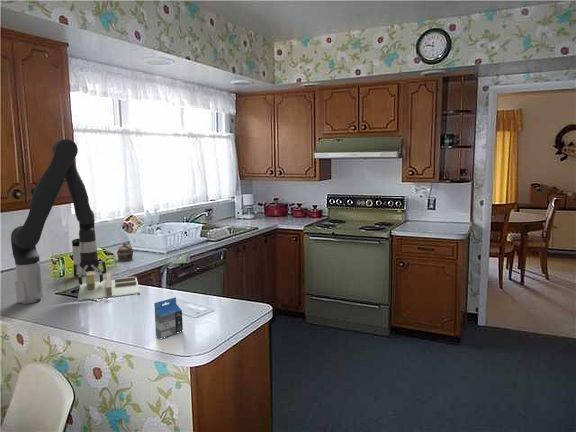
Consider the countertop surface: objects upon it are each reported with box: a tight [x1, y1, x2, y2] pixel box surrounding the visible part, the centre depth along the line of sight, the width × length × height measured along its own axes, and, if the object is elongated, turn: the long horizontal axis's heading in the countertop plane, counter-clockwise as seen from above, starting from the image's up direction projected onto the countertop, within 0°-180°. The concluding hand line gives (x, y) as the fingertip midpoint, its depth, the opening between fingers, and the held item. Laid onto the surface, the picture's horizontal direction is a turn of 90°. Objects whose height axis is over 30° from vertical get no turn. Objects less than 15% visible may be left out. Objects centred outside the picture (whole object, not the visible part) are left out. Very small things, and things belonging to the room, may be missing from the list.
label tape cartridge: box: [154, 297, 184, 339], centre depth 156 cm, size 9×4×12 cm, turn 136°
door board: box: [77, 272, 141, 303], centre depth 209 cm, size 26×26×5 cm
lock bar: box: [85, 270, 96, 289], centre depth 211 cm, size 9×4×6 cm, turn 22°
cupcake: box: [116, 242, 135, 262], centre depth 267 cm, size 10×10×10 cm
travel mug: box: [71, 238, 87, 278], centre depth 231 cm, size 6×7×20 cm
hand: (91, 283), depth 211 cm, fingers open, 8 cm apart
